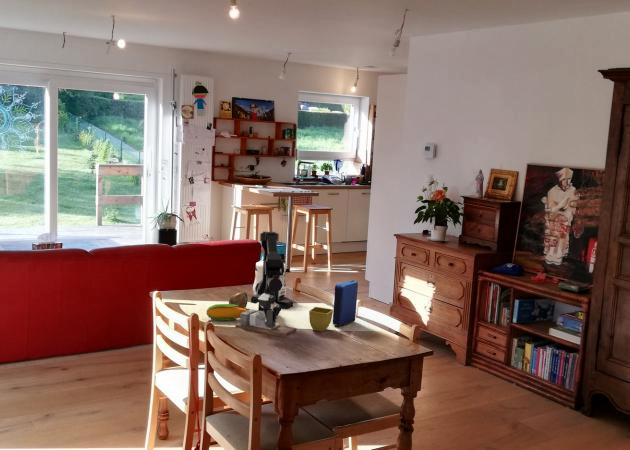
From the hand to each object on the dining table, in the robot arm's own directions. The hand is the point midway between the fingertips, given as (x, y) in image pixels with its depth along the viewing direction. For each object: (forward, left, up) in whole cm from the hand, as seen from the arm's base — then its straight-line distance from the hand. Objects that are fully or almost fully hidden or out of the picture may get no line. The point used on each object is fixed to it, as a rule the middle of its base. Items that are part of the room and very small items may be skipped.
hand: (270, 320), depth 302 cm
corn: (-2, -24, -4) cm, 24 cm away
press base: (0, -3, -4) cm, 5 cm away
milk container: (-48, -30, -4) cm, 56 cm away
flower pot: (-14, +17, -4) cm, 23 cm away
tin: (-17, -29, -4) cm, 34 cm away
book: (-29, +22, -4) cm, 37 cm away
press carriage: (0, -3, -3) cm, 4 cm away
